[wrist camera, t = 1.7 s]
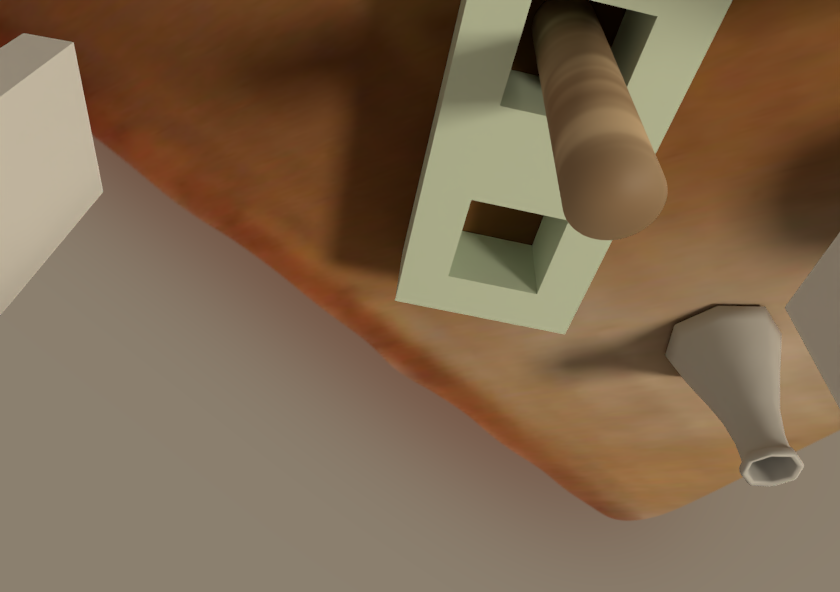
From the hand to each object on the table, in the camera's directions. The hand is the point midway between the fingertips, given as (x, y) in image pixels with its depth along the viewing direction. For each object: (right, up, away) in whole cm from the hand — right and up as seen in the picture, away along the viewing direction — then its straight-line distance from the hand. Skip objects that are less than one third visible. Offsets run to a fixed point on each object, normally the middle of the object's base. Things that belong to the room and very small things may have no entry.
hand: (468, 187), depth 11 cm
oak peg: (+6, +11, +19) cm, 23 cm away
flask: (+19, -5, +32) cm, 37 cm away
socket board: (+5, +7, +22) cm, 24 cm away
